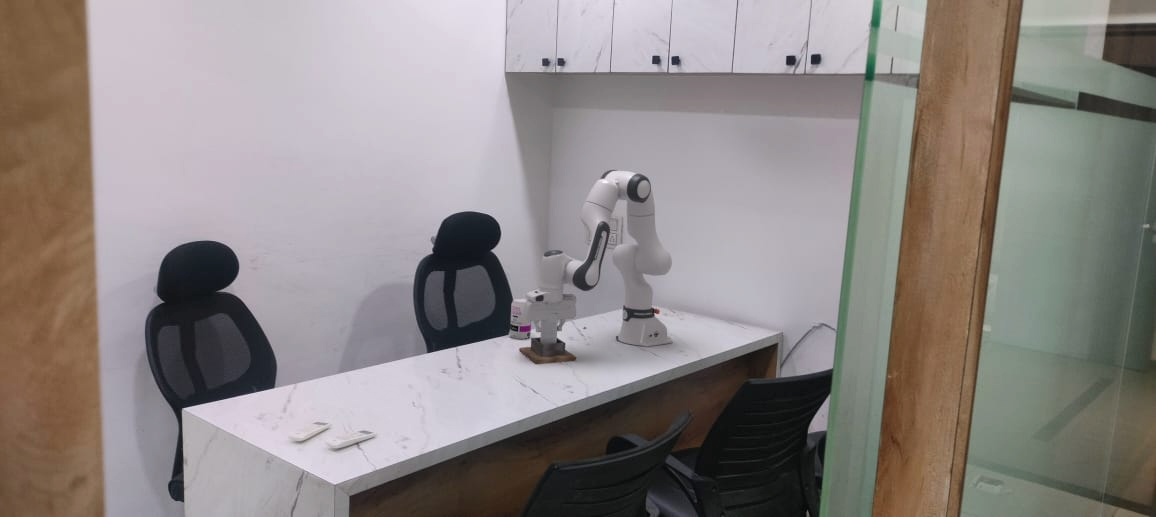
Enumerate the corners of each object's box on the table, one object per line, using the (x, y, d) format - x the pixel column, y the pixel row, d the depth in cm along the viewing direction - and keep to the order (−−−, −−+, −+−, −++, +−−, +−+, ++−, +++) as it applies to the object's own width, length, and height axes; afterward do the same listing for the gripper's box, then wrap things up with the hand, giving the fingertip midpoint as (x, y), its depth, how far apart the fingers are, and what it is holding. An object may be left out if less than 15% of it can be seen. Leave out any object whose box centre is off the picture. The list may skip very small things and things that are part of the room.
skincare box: (556, 342, 294) (558, 311, 292) (556, 345, 290) (558, 314, 288) (539, 341, 294) (541, 310, 292) (539, 344, 290) (541, 313, 288)
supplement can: (531, 335, 320) (533, 299, 318) (528, 340, 312) (530, 303, 310) (512, 333, 321) (513, 297, 319) (508, 338, 313) (510, 301, 311)
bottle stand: (558, 348, 304) (558, 333, 303) (576, 360, 289) (577, 345, 288) (519, 351, 297) (520, 336, 296) (535, 364, 282) (536, 347, 281)
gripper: (572, 291, 296) (570, 327, 299) (522, 293, 287) (520, 330, 290) (580, 295, 291) (577, 332, 293) (528, 297, 282) (526, 335, 284)
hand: (548, 331), depth 291 cm, fingers closed on skincare box, 7 cm apart
